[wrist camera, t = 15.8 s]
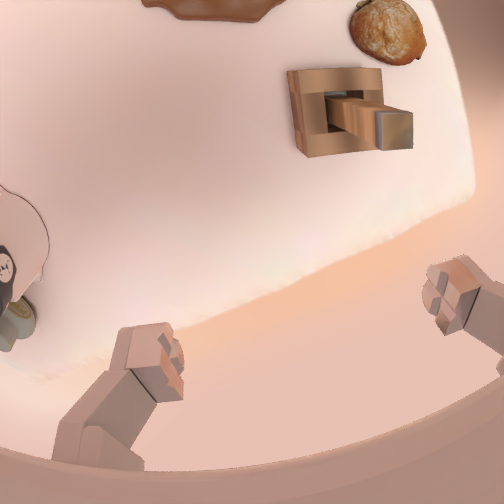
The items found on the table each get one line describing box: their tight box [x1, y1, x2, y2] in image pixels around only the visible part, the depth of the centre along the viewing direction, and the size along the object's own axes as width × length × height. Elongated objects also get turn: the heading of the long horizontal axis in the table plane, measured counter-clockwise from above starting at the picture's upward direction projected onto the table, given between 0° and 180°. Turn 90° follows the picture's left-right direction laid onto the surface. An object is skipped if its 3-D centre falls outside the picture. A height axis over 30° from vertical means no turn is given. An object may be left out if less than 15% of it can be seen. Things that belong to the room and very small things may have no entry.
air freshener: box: [0, 297, 36, 352], centre depth 41 cm, size 11×8×10 cm
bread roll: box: [350, 0, 427, 66], centre depth 27 cm, size 10×10×8 cm
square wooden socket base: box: [287, 68, 384, 158], centre depth 32 cm, size 10×10×5 cm
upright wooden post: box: [324, 95, 413, 151], centre depth 27 cm, size 3×3×16 cm
